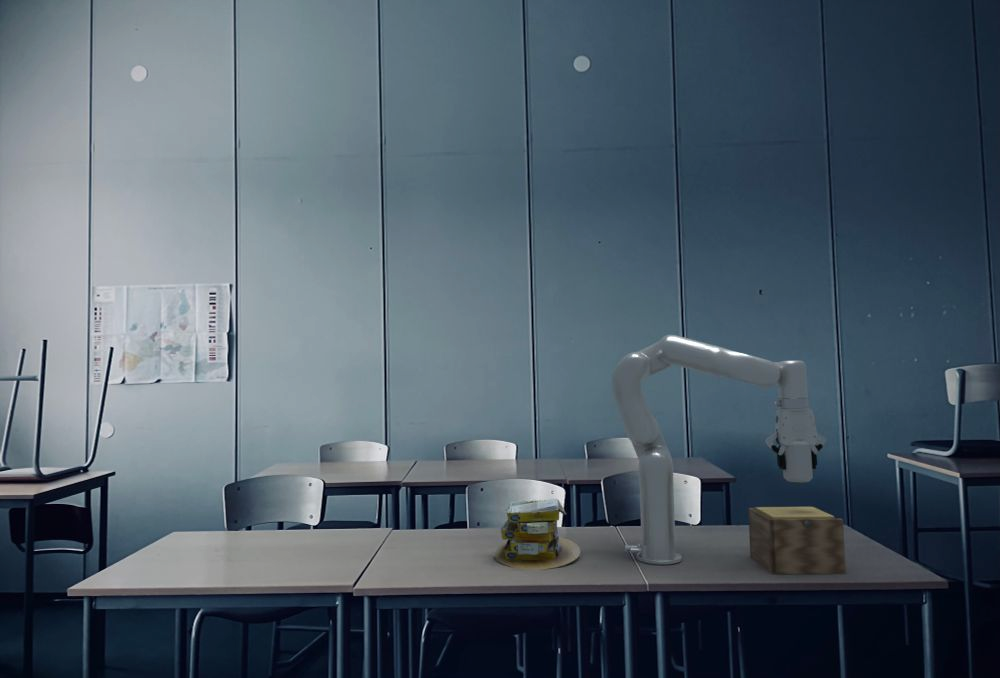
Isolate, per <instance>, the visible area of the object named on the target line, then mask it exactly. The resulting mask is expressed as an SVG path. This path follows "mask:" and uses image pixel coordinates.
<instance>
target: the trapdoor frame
mask: <svg viewBox="0 0 1000 678" xmlns="http://www.w3.org/2000/svg"><path fill="white" fill-rule="evenodd" d="M813 507H814V508H816V509H818V508H817V507H815V506H813ZM748 527H749V528H748V532H749V555H750V556H749V557H750V558H751V559H752V560H753V561H754V562H756V563H757V564H758V565H759V566H761V567H762V568H763V569H765V570H766V571H767V572H769V573H770V574H772V575H843V574H844V575H845V574H846V573H847V572H846V571H847V570H846V568H847V567H846V552H845V536H844V535H845V534H844V533H845V531H844V519H842V518H835V519H771V518H769V517H767V516H765V515H764V514H762V513H760V512H758V511H756V507H749V508H748Z"/></svg>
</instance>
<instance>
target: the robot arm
mask: <svg viewBox="0 0 1000 678" xmlns="http://www.w3.org/2000/svg"><path fill="white" fill-rule="evenodd" d="M672 366H678V367H681V368H683V369H686V370H687V369H688V370H690V371H695V372H699V373H703V374H706V375H710V376H714V377H722V378H728V379H731V380H733V379H734V380H736V381H741V382H744V383H748V384H751V385H753V386H755V387H758V388H772V387H773V386H777V392H778V398H777V400H775V401H773V405H774V407H778V409H777V410H776V414H775V415H776V417H775V423H774V424H775V425H774V427H775V429H774V433H771V435H770V436H768V437H767V438H766V439H765V440H764V442H765V444H766V445H767V446H768V447H769V448H770V449H771V450H772V451H773V452H774V453H775V454H776V460H777V463H776V464H777V467H779V469H780V470H782V471H783V470H785V469H786V462H785V455H783V453H784V451H785V446H790V445H791V444H792V443H793V442H795V441H796V440H795V439H799V438H804V441H805V442H807V443H809V445H810V446H811V457H812V470H816V469H817V465H818V454H819V452H820V451H821V449H823V448H824V447H823V446H824V445H825V444H826V442H827V439H828V438H826V437H825V436H823V435H822V434H820V433H819V432H818V431H817V426H816V420H815V415H814V411H813V409H810V407H809V406H810V405H809V394H808V393H809V391H808V377H807V365H806V363H805V361H803V360H797V359H793V360H792V359H791V360H782V361H772V360H769V359H766V358H762V357H759V356H758V357H757V356H754V355H751V354H747V353H742V352H738V351H735V350H731V349H728V348H725V347H722V346H718V345H715V344H711V343H707V342H703V341H699V340H695V339H691V338H688V337H684V336H680V335H676V334H667V335H664V336H662V338H661V339H660V340H658V341H657V342H654V343H653V344H651V345H649V346H647V347H645V348H642V349H640V350H638V351H632V352H630V353H629V352H628V354H626V355H625V356H623V357H622V358H621V359H620V360H619V362H618V363H617V365H616V366H615V368H614V370H613V373H612V375H611V376H612V377H611V382H610V383H611V384H610V385H611V391H612V392H611V393H612V396H613V399H614V402H615V404H616V408H617V410H618V413H619V416H620V418H621V422H622V423H623V426H624V429H625V434H626V437H627V438H628V440H629V441H630V442H631V445H632V447H633V449H634V452H635V455H636V456H637V459H638V483H639V504H640V505H639V506H640V510H639V511H640V536H641V537H640V538H641V540H639V542H638V543H636V544H634V545H633V544H625V546H624V549H625V553H627V552H629V553H631V554H636V555H635V557H636V559H637V560H638V561H639V562H641V563H645V564H650V565H659V566H660V565H663V566H664V565H673V564H674V565H675V564H677V563H680V562H681V561H682V555H681V554H680V553H678V552H676V551H677V550H676V523H675V522H676V521H675V519H676V518H675V498H674V497H675V495H674V493H675V492H674V464H673V463H674V462H673V458H672V455H671V452H670V450H669V448H668V445H667V443H666V440H665V438H664V435H663V433H662V430H661V427H660V426H659V423H658V421H657V420H656V418H655V416H654V415H653V414H652V413H651V410H650V408H649V405H648V403H647V400H646V397H645V394H644V392H643V389H642V381H643V380H646V379H647V378H650V377H652V376H653V375H655V374H657V373H660V372H662V371H664V370H666V369H668V368H671V367H672ZM774 441H775V443H776V445H777V446H776V445H775V443H774Z"/></svg>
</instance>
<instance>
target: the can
mask: <svg viewBox="0 0 1000 678" xmlns="http://www.w3.org/2000/svg"><path fill="white" fill-rule="evenodd" d="M795 440H796V441H795V442H793V443H792V444H791V445H790V446H785V451H784V453H783V455H785V462H786V469H785V470H782V473H783V474H782V476H783V477H782V478H784V479H785V480H786V481H787V482H792V483H808V482H811V480H813V478H814V476H813V469H812V457H811V446H810V445H809V443H807V442H805V441H804V438H799V439H795Z"/></svg>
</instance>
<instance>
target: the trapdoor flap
mask: <svg viewBox="0 0 1000 678" xmlns="http://www.w3.org/2000/svg"><path fill="white" fill-rule="evenodd" d="M814 507H815V506H759V507H758V506H757V507H756V506H755V508H756V511H758V512H760V513H762V514H764V515H765V516H767V517H769V518H771V519H836V518H835V516H834V515H832V514H830V513H828V512H826V511H823V510H821V509H819V508H817V507H815V508H814ZM816 508H817V509H816Z"/></svg>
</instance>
